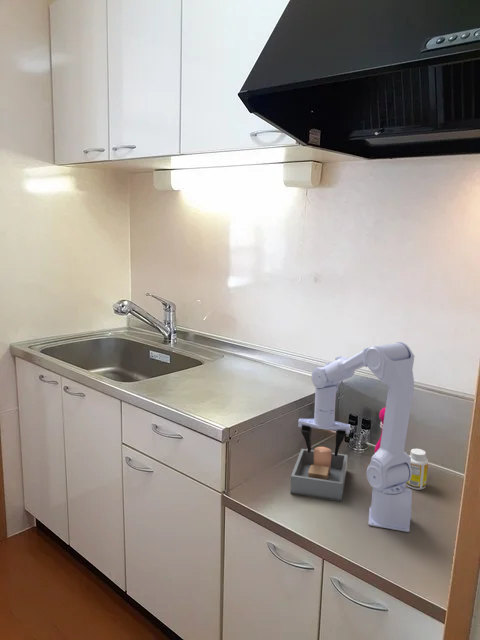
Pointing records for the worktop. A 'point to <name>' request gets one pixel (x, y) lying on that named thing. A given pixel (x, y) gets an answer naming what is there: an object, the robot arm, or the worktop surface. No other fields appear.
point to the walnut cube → (318, 472)
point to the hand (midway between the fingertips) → (322, 452)
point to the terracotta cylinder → (322, 457)
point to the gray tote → (319, 486)
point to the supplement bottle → (418, 469)
